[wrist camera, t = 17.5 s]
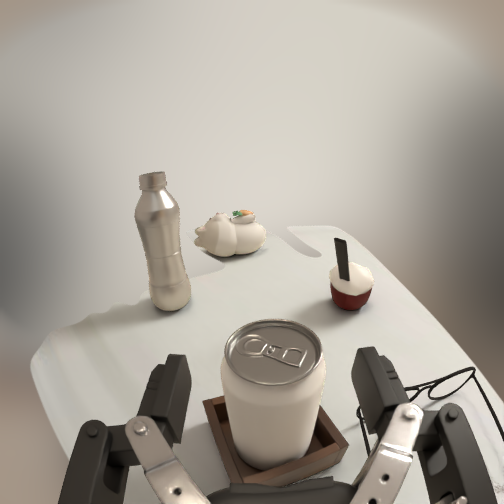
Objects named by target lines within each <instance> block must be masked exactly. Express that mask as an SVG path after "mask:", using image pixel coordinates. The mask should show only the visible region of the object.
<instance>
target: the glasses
mask: <svg viewBox="0 0 504 504" xmlns="http://www.w3.org/2000/svg"><path fill="white" fill-rule="evenodd" d="M470 370H473V372H472V374H471V375H470V376H469V378H468V379H467V380H466V381H465V382H464V383H463V384H462V385H461V386H460V387H459V388H457V389H456V390H455V391H453V392H451V393H449V394H447V395H445V396H442V397H437V398H434V397H430V393H431V391H432V390H433V388H435V387H436V386H437V385H438V384H440V383H442V382H443V381H445V380H447V379H449V378H451V377H453V376H456V375H458V374H461V373H463V372H466V371H470ZM475 371H476V369H475V367H468V368H464V369H462V370H459V371H457V372H454V373H452V374H450V375H448V376H445V377H443V378H440V379H437V380H434V381H431V382H427V383H424V384H420V385H416V386H412V387H406V388H404V389H405V391H410V390H418V392H417V393H416V394H415V395H414V396H413V397H412V398H410V399H409V400H410V402H412V401H413V400H414V399H415V398H416V397H417V396H418V395H419V394H420V393H421V392H422V391H423V390H425V389H427V388H430V389H429V391H428V397H429V399H431V400H440V399H443V398H446V397H448V396H450V395H452V394H453V393H455V392H456V391H458V390H459V389H460V388H461V387H462V386H463V385H464V384H465V383H466V382H467V381H468V380H469V379H470V378H474V380H475V382H476V384H477V386H478V388H479V390H480V392H481V394H482V396H483V397H484V399H485V402H486V404H487V406H488V408H489V410H490V412H491V414H492V416H493V418H494V420H495V422H496V425H497V427H498V429H499V431H500V434H501V436H502V439H503V441H504V432H503V430H502V427H501V425H500V423H499V421H498V418H497V416H496V414H495V412H494V410H493V408H492V406H491V404H490V402H489V400H488V399H487V397H486V395H485V393H484V391H483V389H482V387H481V386H480V384H479V382H478V381H477V379H476V377H475V375H474V374H475ZM435 382H436V383H435ZM432 383H435V384H433V385H432V386H431V385H429V386H426V387H423V388H422V389H421V390H419V388H418V387H421V386H425V385H428V384H432ZM360 408H361V407H360V406H359V407H358V409H357V413H356V415H357V417H358V418H359V419H360V424H361V428H362V433H363V437H364V441H365V446H366V450H367V454H368V457H369V455H370V453H371V451H370V447H369V443H368V439H367V435H366V431H365V428H364V424H363V420H364V418H363V417H362V416H361V413H360ZM358 415H359V416H358Z"/></svg>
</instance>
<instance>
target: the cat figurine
mask: <svg viewBox="0 0 504 504" xmlns="http://www.w3.org/2000/svg"><path fill="white" fill-rule="evenodd" d="M234 212H235V211H234ZM234 212H233V216H236V215H239V216H237V217H235V218H233V219H231V218H229V217H228V216H227V215H226V214H225V213H217V214H216V215H215V216H214V217H213V218H210V220H209V221H208V222H207V223H206V224H205V225H204V226H202V227H199V228H197V229H196V230H195V233H196V234H197V235H198V236H199V237H198V238H196V239H195V241H194V244H195V245H196V246H199V247H203V248H205V249H206V250H207V251H208V252H210V253H212V254H214V255H217V256H222V257H227V256H231V255H233V254H248V253H251V252H254V251H256V250H257V249H259V248H260V247H261V246H262V245H263V244H264V242H265V240H266V231H265V229H264V228H263V227H262V226H261V225H260V224H259V223H257V222H256V221H255V215H253V213H252V212H250V211H247V210H241V211H239V212H238V211H236V213H234Z"/></svg>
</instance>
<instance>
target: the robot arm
mask: <svg viewBox="0 0 504 504" xmlns="http://www.w3.org/2000/svg"><path fill="white" fill-rule="evenodd" d="M351 377H352V382H353V385H354V388H355V391H356V394H357V397H358V401H359V404H360V407H361V410H362V413H363V416H364V420H365V423H366V426H367V430H368V433H369V435H370V434H374V433H377V436H378V439H377V441H376V443H375V445H374V447H373V449H372V451H371V453H370V455H369V457H368V458H367V460H366V462H365V464H364V466H363V468H362V469H361V471H360V473H359V474H358V476H357V477H356V479H355V480H354V482H353V483H352V485H350V484H347V483H343V482H337V481H334V480H333V476H331V477H324V478H317V479H309V480H306V481H303V482H300V483H296V484H293V485H290V486H287V487H275V486H269V485H263V484H258V483H230V488H225V489H222V490H219V491H216V492H214V493H212V494H210V495H208V496H207V497H206V496H205V495H204V494H203V493H202V491H201V490H200V489H199V487H198V486H197V485H196V484H195V482H194V481H193V479H192V478H191V477H190V475H189V474H188V473H187V471H186V470H185V468H184V467H183V465H182V464H181V463H180V461H179V460H178V458H177V457H176V455H175V454H174V452H173V451H172V447H173V443H179V444H181V438H182V433H183V427H184V422H185V417H186V411H187V406H188V401H189V396H190V391H191V374H190V370H189V367H188V363H187V359H186V356H185V355H177V354H169V355H168V357H167V360H166V363H165V365H164V364H158V365H157V366H156V367H155V369H154V370H153V371H152V372H151V375H150V378H149V382H148V384H147V387H146V390H145V393H144V396H143V399H142V402H141V405H140V408H139V411H138V414H137V416H136V417H134V418H132V419H130V420H129V421H128V423H127V424H124V425H118V426H106V425H105V424H104V423H103V422H101V421H99V420H90V421H87V422H86V423H84V424H83V425H82V427H81V429H80V431H79V434H78V437H77V440H76V443H75V446H74V449H73V452H72V455H71V458H70V462H69V465H68V468H67V472H66V475H65V479H64V482H63V486H62V490H61V494H60V498H59V501H58V504H123V501H124V494H125V488H126V483H127V477H128V472H129V467H130V466H135V465H142V467H143V469H144V474H145V476H146V478H147V480H148V481H149V483H150V485H151V487H152V488H153V490H154V491H155V493H156V495H157V496H158V498H159V500H160V501H161V503H162V504H393V503H394V501H395V499H396V496H397V494H398V492H399V490H400V488H401V486H402V484H403V481H404V479H405V477H406V474H407V472H408V469H409V467H410V464H411V462H412V459H413V456H412V455H411V453H412V451H417V453H418V457H419V460H420V464H421V467H422V471H423V475H424V479H425V483H426V487H427V491H428V495H429V499H430V504H498V503H497V500H496V496H495V493H494V489H493V486H492V483H491V480H490V477H489V474H488V471H487V468H486V465H485V462H484V460H483V457H482V454H481V452H480V449H479V447H478V444H477V442H476V439H475V437H474V434H473V432H472V430H471V427H470V425H469V423H468V421H467V418H466V416H465V414H464V412H463V410H462V408H461V407H460V406H458V405H456V404H453V403H448V404H445V405H444V406H442V408H441V409H440V410H439V411H425V410H421V408H420V407H419V406H418V405H416V404H414V403H411V402H410V400H409V398H408V396H407V394H406V392H405V389H404V387H403V385H402V383H401V381H400V379H399V378H398V375H397V373H396V372H395V369H394V366H393V364H392V362H391V361H390V360H388V359H387V358H386V357H385V356H384V355H383V356H379V355H378V353H377V351H376V349H375V347H365V348H359V349H358V350H357V353H356V357H355V360H354V364H353V367H352V372H351Z"/></svg>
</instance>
